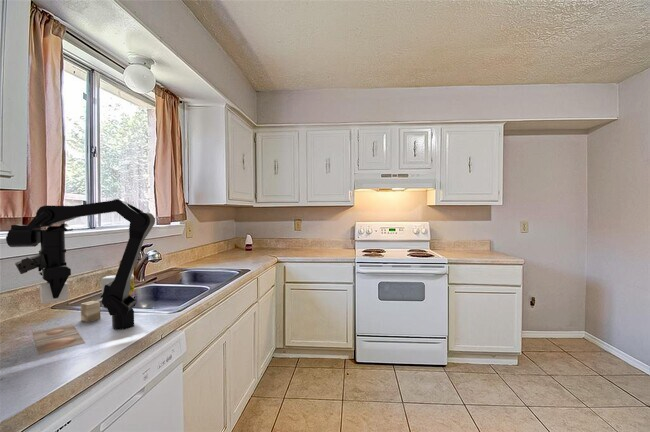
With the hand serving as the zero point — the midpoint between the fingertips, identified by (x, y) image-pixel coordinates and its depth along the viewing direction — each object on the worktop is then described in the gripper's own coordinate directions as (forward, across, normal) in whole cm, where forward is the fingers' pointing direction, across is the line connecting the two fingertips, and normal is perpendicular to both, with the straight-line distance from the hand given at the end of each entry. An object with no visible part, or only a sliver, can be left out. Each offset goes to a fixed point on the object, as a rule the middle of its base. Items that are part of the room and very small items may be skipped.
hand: (54, 296), depth 99 cm
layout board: (+12, +6, 0) cm, 14 cm away
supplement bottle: (+13, -32, +27) cm, 44 cm away
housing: (+1, 0, 0) cm, 1 cm away
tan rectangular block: (+12, -6, +10) cm, 17 cm away
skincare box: (+13, -24, +20) cm, 33 cm away
